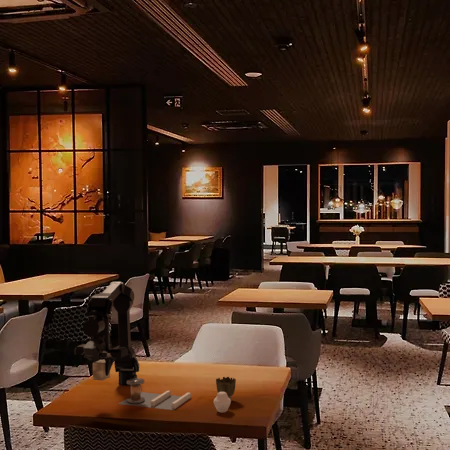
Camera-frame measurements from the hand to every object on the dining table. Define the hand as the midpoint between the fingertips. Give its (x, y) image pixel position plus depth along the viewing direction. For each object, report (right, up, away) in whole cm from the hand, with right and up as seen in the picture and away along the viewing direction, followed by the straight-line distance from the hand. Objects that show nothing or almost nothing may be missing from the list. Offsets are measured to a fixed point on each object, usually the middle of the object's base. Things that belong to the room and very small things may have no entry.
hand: (101, 375), depth 228 cm
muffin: (+43, -12, -2) cm, 45 cm away
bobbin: (+11, -11, +6) cm, 17 cm away
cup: (+44, -12, +10) cm, 47 cm away
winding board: (+18, -12, +7) cm, 23 cm away
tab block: (0, -1, 0) cm, 1 cm away
